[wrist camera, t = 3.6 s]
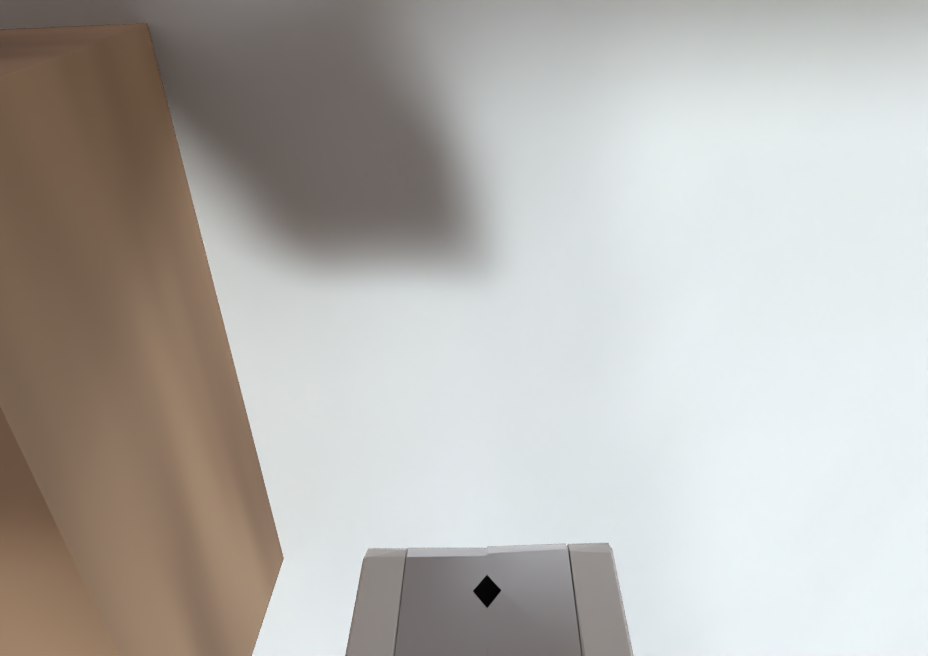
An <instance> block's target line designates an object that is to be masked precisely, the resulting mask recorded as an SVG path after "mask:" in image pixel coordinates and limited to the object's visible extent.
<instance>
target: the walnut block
mask: <svg viewBox="0 0 928 656" xmlns="http://www.w3.org/2000/svg"><path fill="white" fill-rule="evenodd" d="M283 559H284V558H283V554H282V550H281V546H280V542H279V538H278V534H277V531H276V527H275V523H274V519H273V515H272V511H271V507H270V503H269V499H268V495H267V491H266V487H265V484H264V480H263V476H262V472H261V468H260V464H259V460H258V456H257V452H256V448H255V444H254V440H253V437H252V433H251V429H250V425H249V421H248V417H247V413H246V409H245V405H244V401H243V397H242V393H241V390H240V386H239V382H238V378H237V374H236V370H235V366H234V362H233V358H232V354H231V350H230V346H229V343H228V339H227V335H226V331H225V327H224V323H223V319H222V315H221V311H220V307H219V303H218V299H217V296H216V292H215V288H214V284H213V280H212V276H211V272H210V268H209V264H208V260H207V256H206V252H205V249H204V245H203V241H202V237H201V233H200V229H199V225H198V221H197V217H196V213H195V209H194V205H193V202H192V198H191V194H190V190H189V186H188V182H187V178H186V174H185V170H184V166H183V162H182V158H181V155H180V151H179V147H178V143H177V139H176V135H175V131H174V127H173V123H172V119H171V115H170V111H169V108H168V104H167V100H166V96H165V92H164V88H163V84H162V80H161V76H160V72H159V68H158V64H157V61H156V57H155V53H154V49H153V45H152V41H151V37H150V33H149V29H148V25H147V23H145V24H122V25H98V26H74V27H51V28H27V29H3V30H0V656H252V653H253V650H254V647H255V644H256V641H257V638H258V635H259V632H260V629H261V626H262V623H263V619H264V616H265V613H266V610H267V607H268V604H269V601H270V598H271V595H272V592H273V589H274V586H275V583H276V580H277V577H278V574H279V571H280V568H281V565H282V562H283Z"/></svg>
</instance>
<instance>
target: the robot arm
mask: <svg viewBox="0 0 928 656" xmlns="http://www.w3.org/2000/svg"><path fill="white" fill-rule="evenodd" d="M345 656H633V651H632V646H631V641H630V636H629V631H628V626H627V621H626V616H625V611H624V606H623V601H622V596H621V591H620V586H619V581H618V576H617V571H616V566H615V561H614V556H613V551H612V548H611V547H610V545H609V544H608V543H585V544H568V545H566V544H542V545H516V546H490V547H487V548H376V549H368V551H367V553H366V555H365V557H364V559H363V563H362V568H361V574H360V579H359V585H358V590H357V595H356V601H355V606H354V612H353V617H352V622H351V628H350V633H349V639H348V644H347V649H346V655H345Z"/></svg>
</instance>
